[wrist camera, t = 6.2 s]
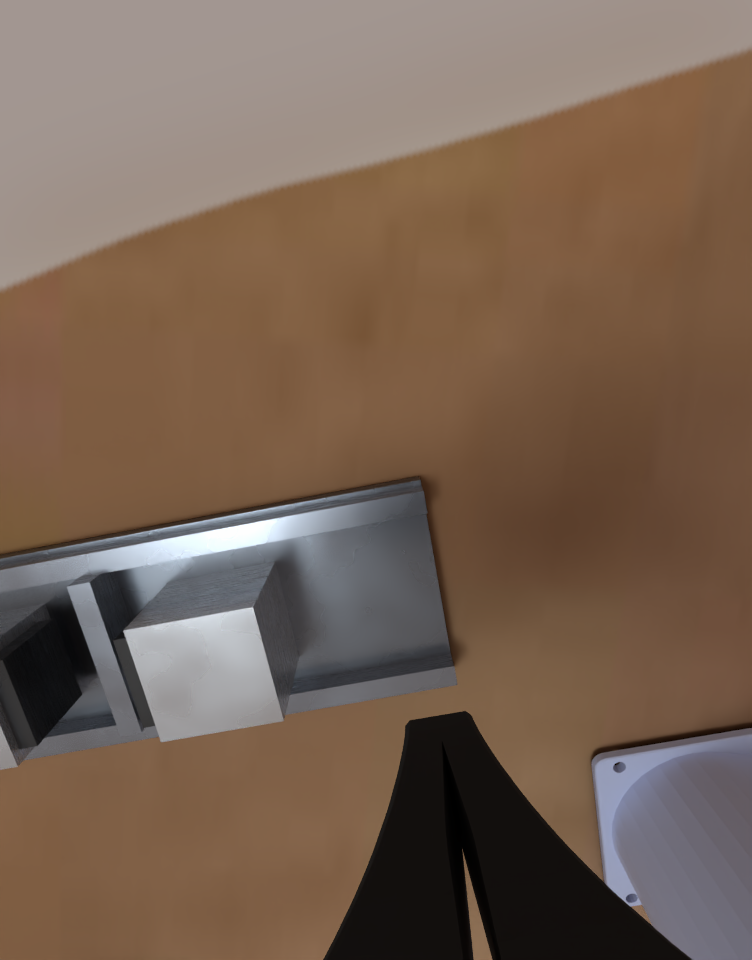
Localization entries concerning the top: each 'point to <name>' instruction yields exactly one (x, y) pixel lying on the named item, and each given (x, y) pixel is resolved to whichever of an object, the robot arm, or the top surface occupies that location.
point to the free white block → (211, 654)
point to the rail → (209, 549)
